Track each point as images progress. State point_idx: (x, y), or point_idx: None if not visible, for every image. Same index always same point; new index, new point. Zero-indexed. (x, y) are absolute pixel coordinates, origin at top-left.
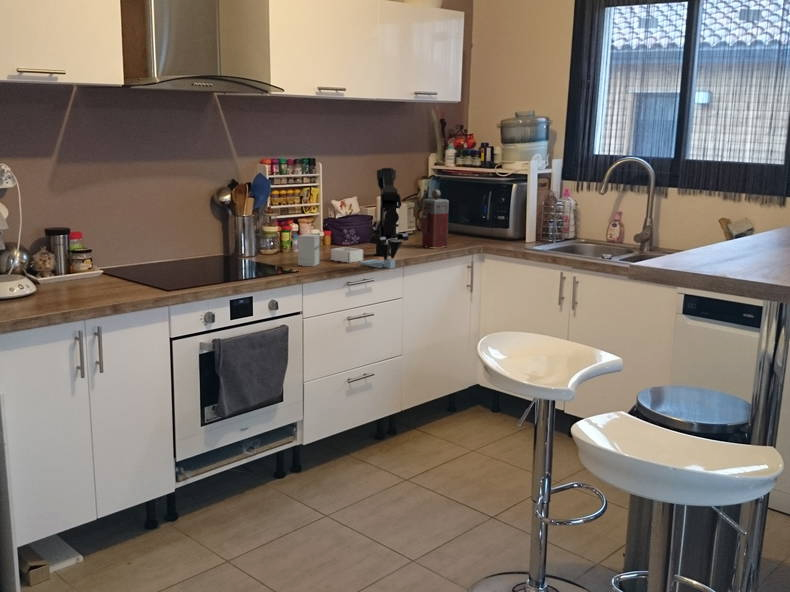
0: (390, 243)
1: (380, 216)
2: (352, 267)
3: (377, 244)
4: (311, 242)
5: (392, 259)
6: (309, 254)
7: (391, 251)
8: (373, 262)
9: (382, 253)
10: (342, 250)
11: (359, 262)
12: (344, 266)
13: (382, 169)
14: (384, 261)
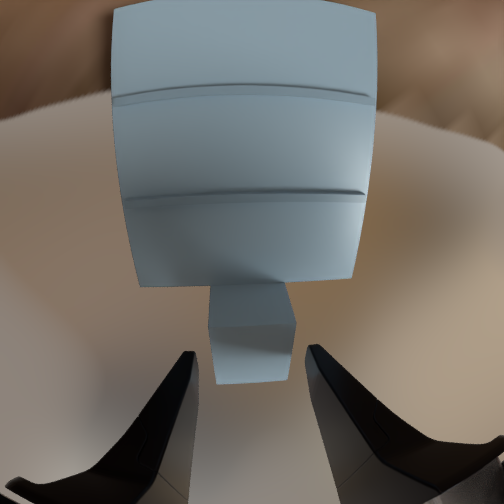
0: (395, 484)
1: None
2: (11, 97)
3: (34, 489)
4: None
5: (290, 358)
6: None
7: (335, 406)
8: (222, 117)
9: (148, 402)
10: None
11: (116, 12)
12: (9, 30)
13: None
14: (209, 317)
